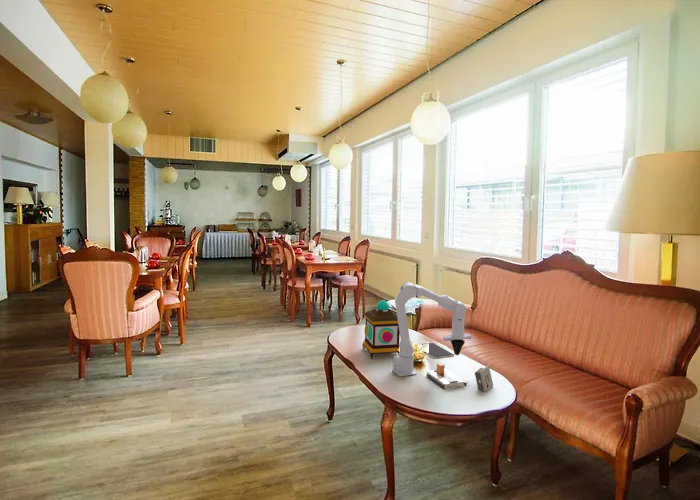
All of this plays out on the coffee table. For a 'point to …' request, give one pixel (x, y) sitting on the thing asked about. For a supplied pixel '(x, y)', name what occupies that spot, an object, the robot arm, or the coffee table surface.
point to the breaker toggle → (440, 368)
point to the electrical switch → (484, 379)
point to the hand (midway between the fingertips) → (456, 354)
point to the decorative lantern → (381, 330)
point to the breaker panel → (446, 379)
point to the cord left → (435, 381)
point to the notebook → (438, 351)
